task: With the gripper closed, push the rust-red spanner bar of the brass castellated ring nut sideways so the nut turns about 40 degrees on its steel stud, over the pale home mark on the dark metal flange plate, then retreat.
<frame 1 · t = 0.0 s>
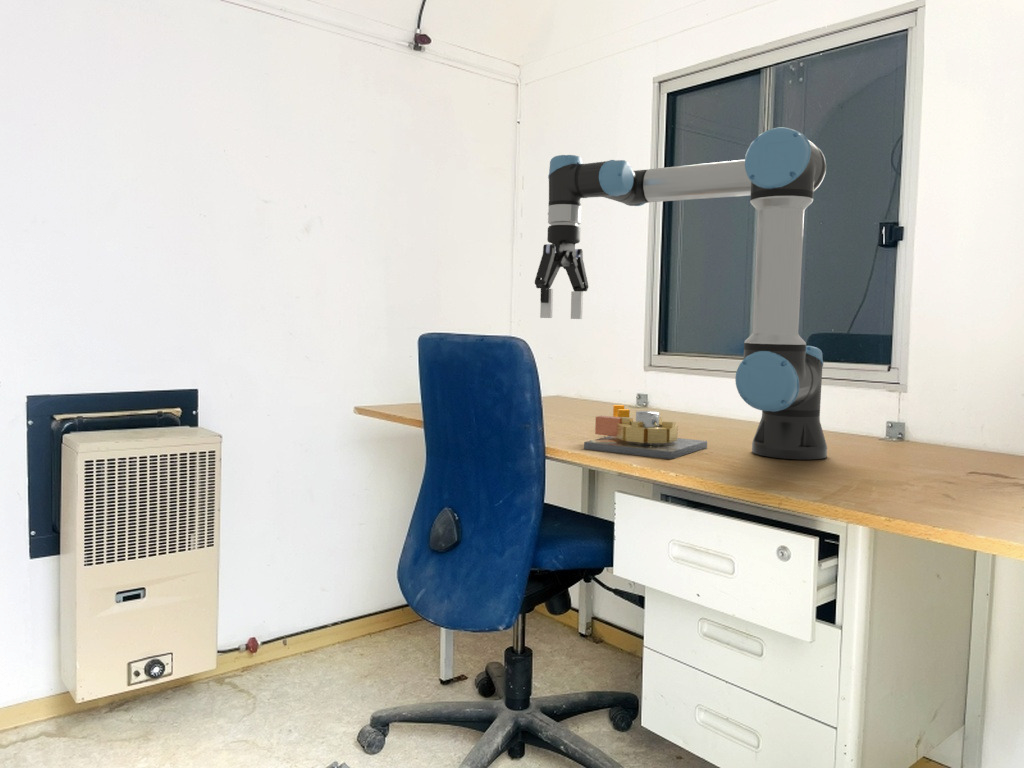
hand: (561, 318, 186), 28 cm above the table, fingers open, 13 cm apart
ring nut: (634, 428, 177), point 4 cm above the table, hinge at 0.0°
pipe clamp: (616, 433, 201), on the table
flange plate: (646, 448, 176), on the table
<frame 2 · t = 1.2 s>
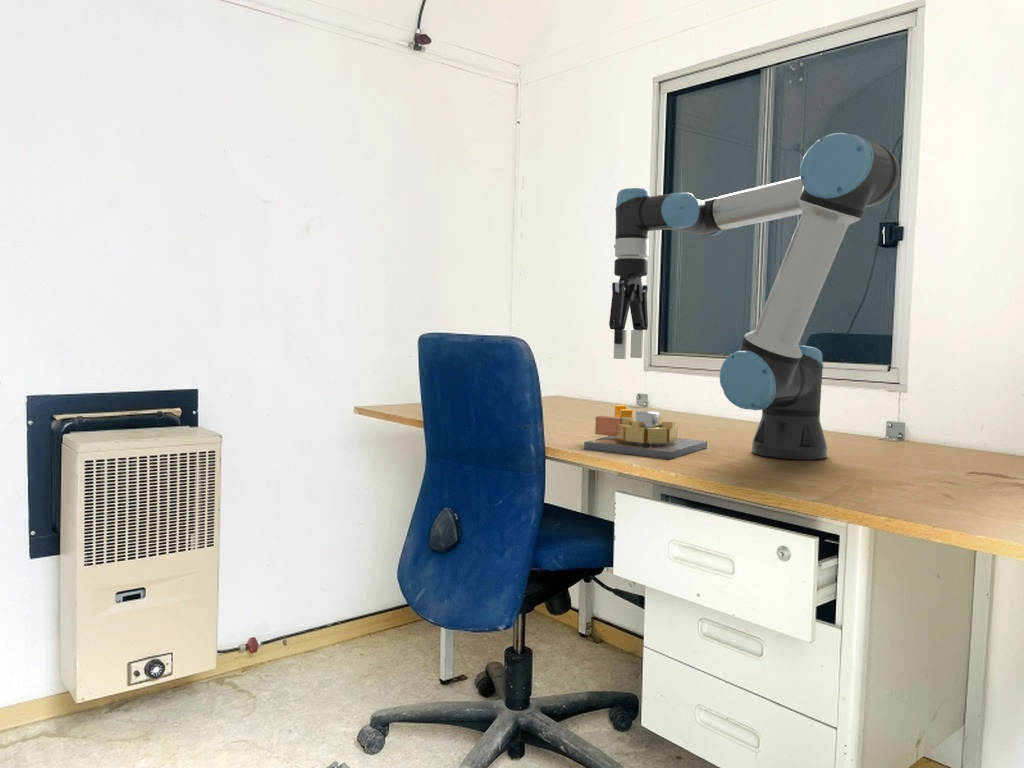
hand: (628, 358, 185), 19 cm above the table, fingers open, 8 cm apart
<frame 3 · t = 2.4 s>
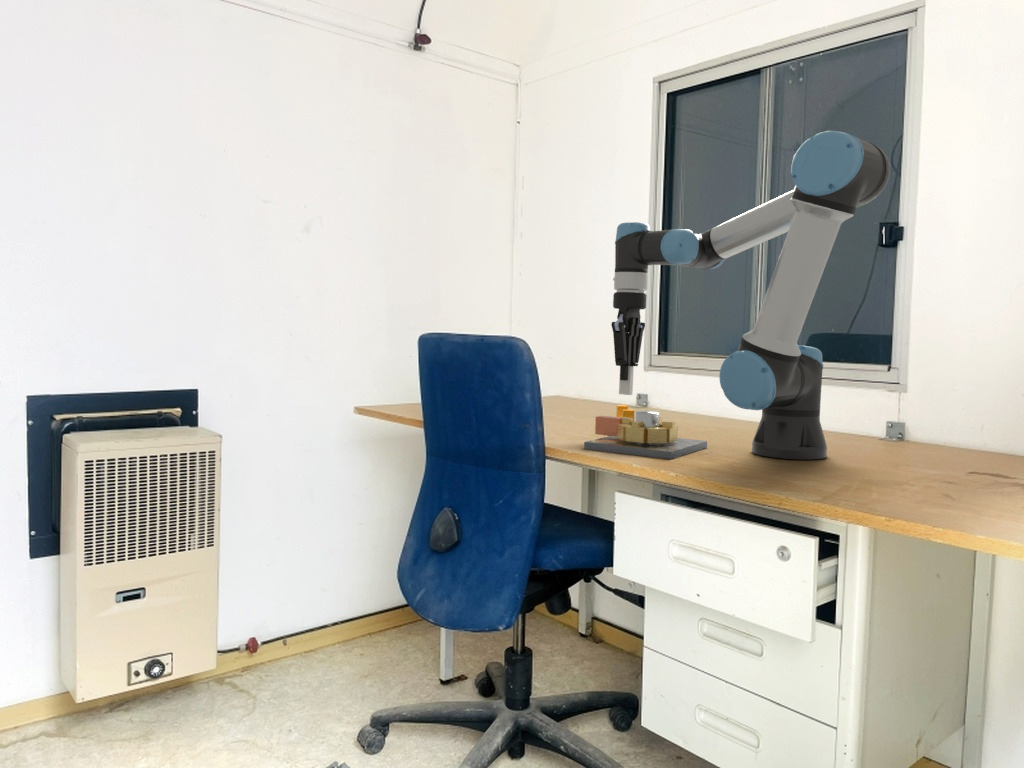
hand: (625, 394, 186), 11 cm above the table, fingers closed
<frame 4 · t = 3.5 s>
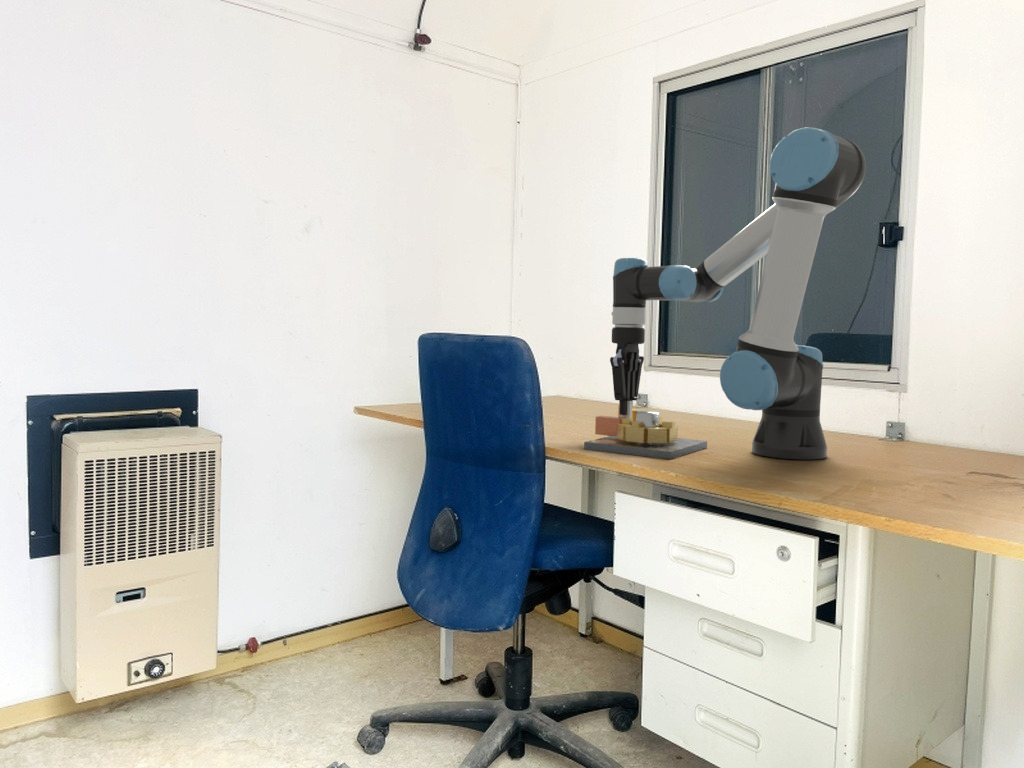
hand: (625, 428, 186), 3 cm above the table, fingers closed
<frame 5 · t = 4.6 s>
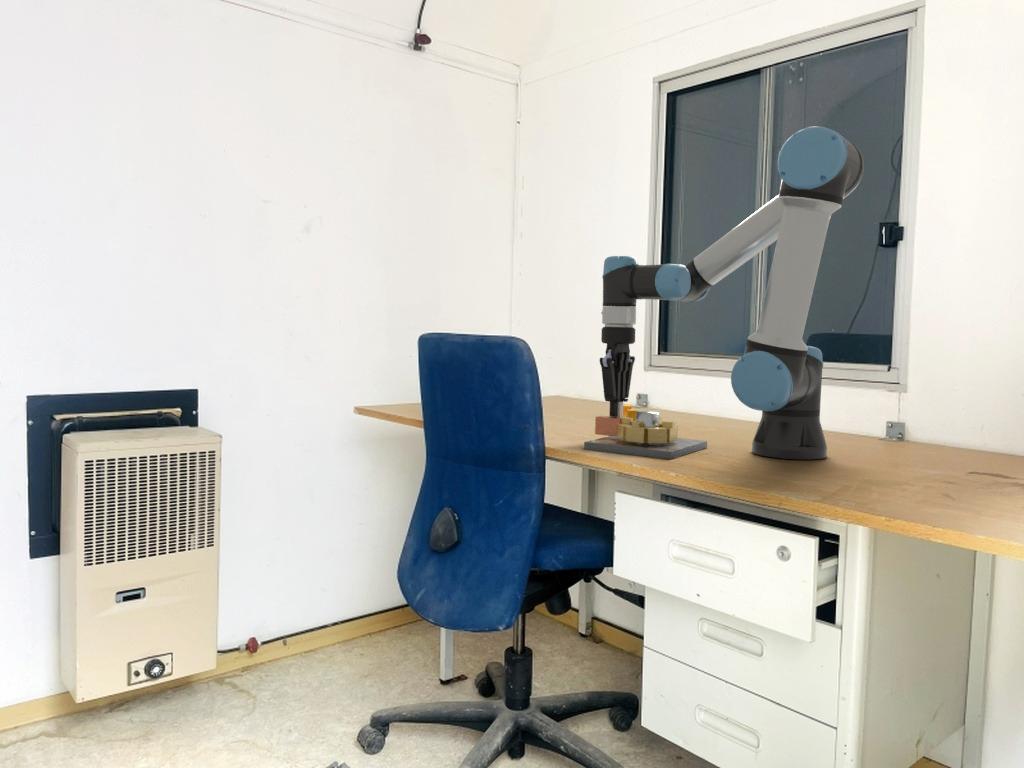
hand: (615, 430, 182), 3 cm above the table, fingers closed
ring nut: (634, 428, 177), point 4 cm above the table, hinge at 0.3°, touching gripper
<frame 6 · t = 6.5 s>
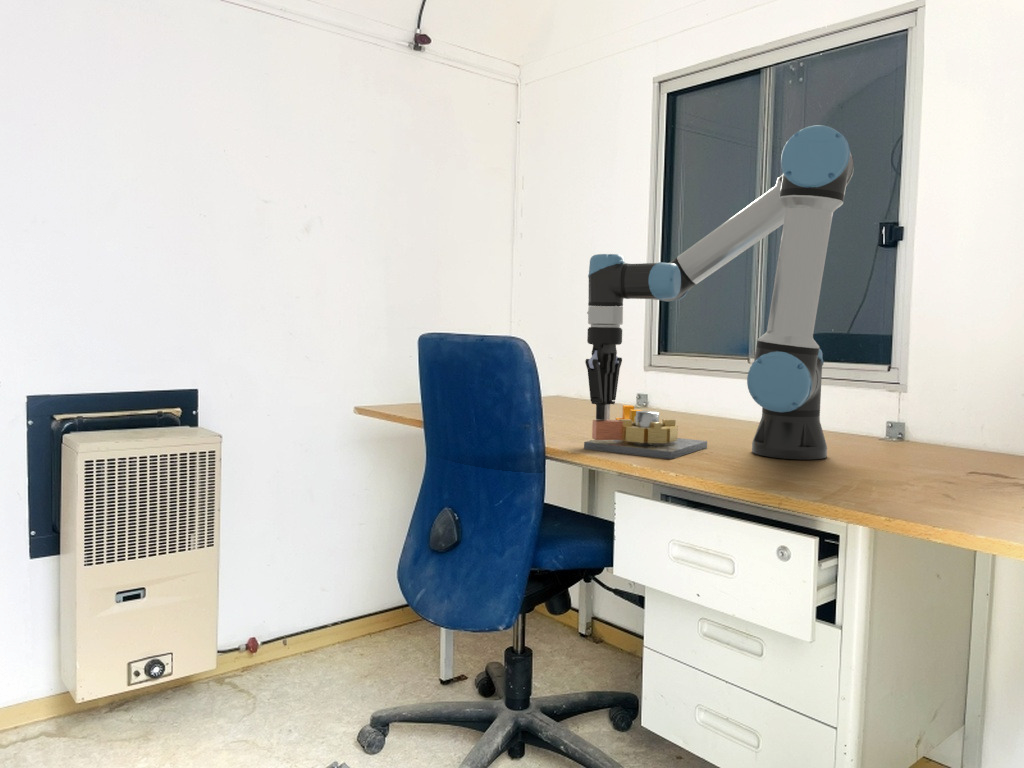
hand: (602, 433, 177), 3 cm above the table, fingers closed
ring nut: (634, 429, 175), point 4 cm above the table, hinge at 45.6°, touching gripper
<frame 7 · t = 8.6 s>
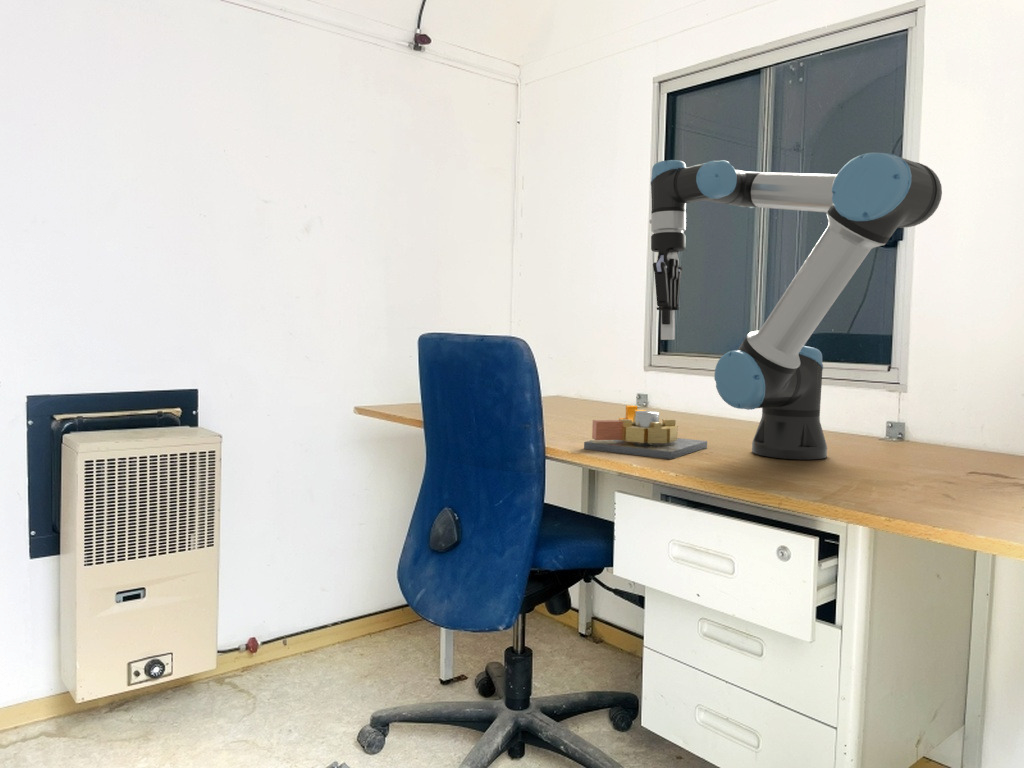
hand: (667, 339, 180), 24 cm above the table, fingers closed
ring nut: (634, 429, 175), point 4 cm above the table, hinge at 45.7°
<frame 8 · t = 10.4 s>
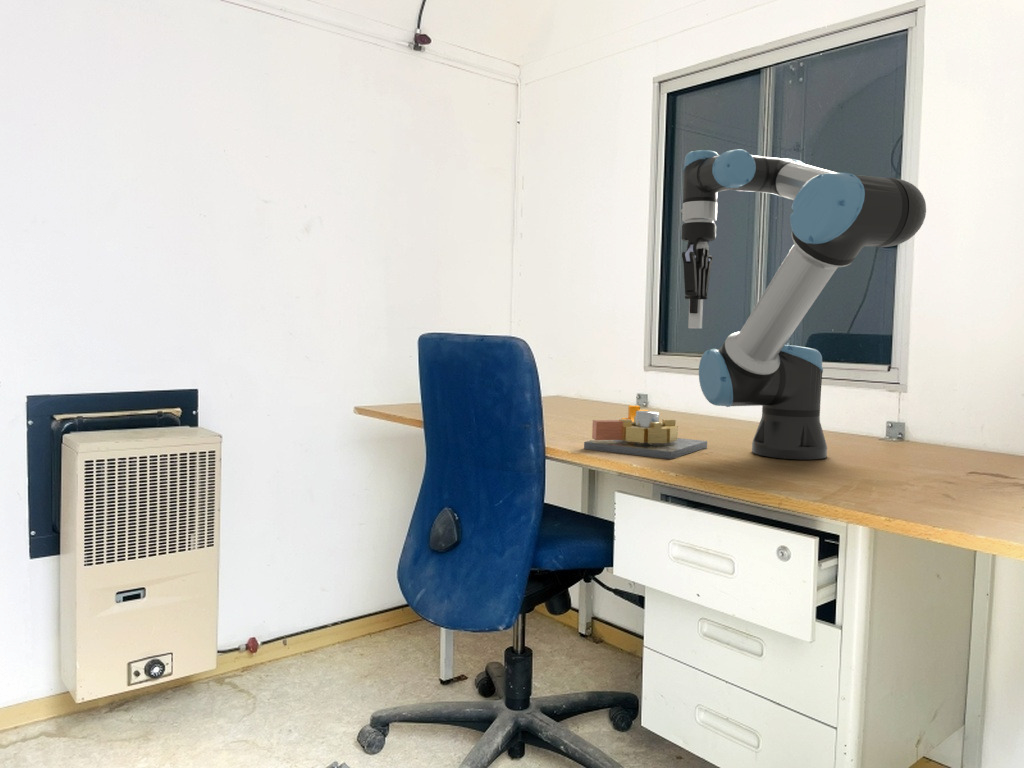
hand: (695, 328, 182), 26 cm above the table, fingers closed
at the end: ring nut at +46° (first picture: +0°) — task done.
